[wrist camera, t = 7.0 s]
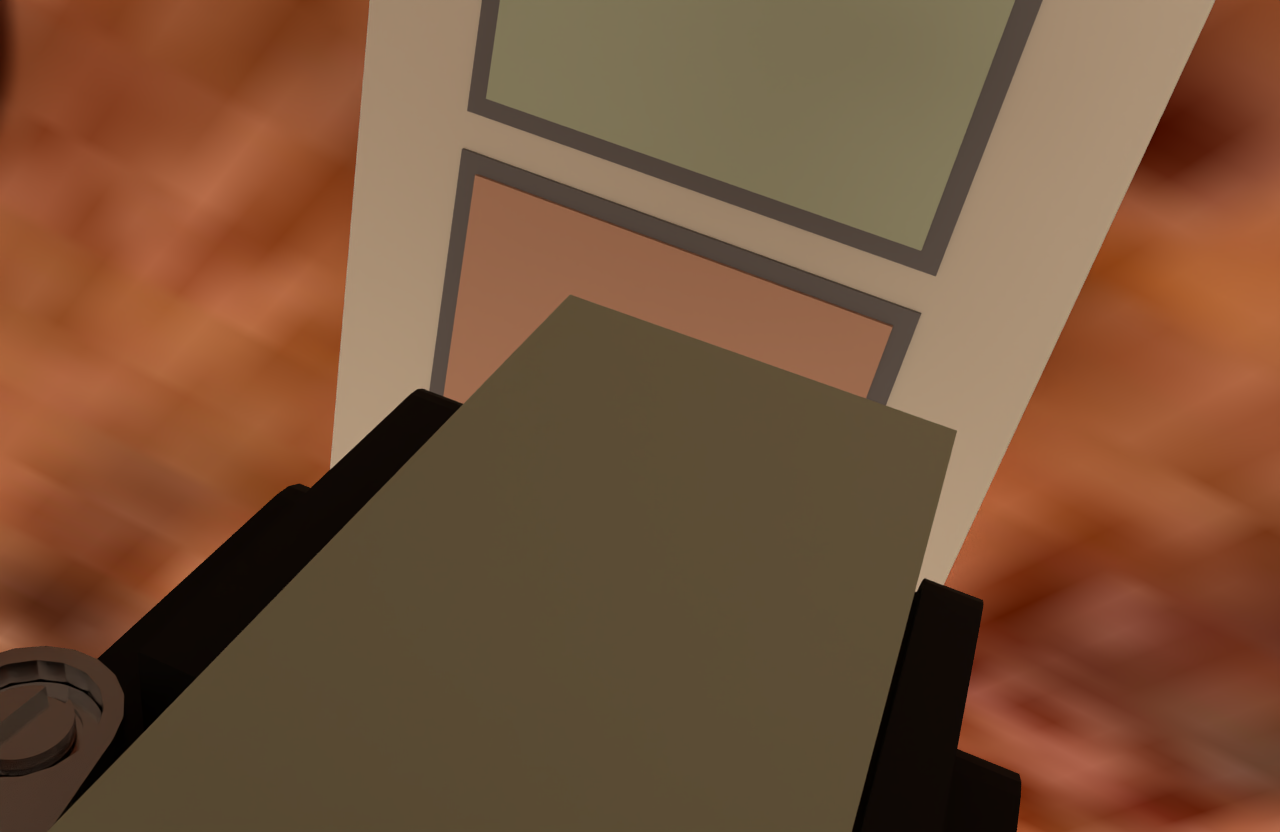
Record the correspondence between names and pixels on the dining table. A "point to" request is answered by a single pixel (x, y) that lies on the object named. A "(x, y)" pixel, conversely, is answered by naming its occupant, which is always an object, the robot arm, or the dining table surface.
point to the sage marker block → (574, 615)
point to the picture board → (751, 191)
